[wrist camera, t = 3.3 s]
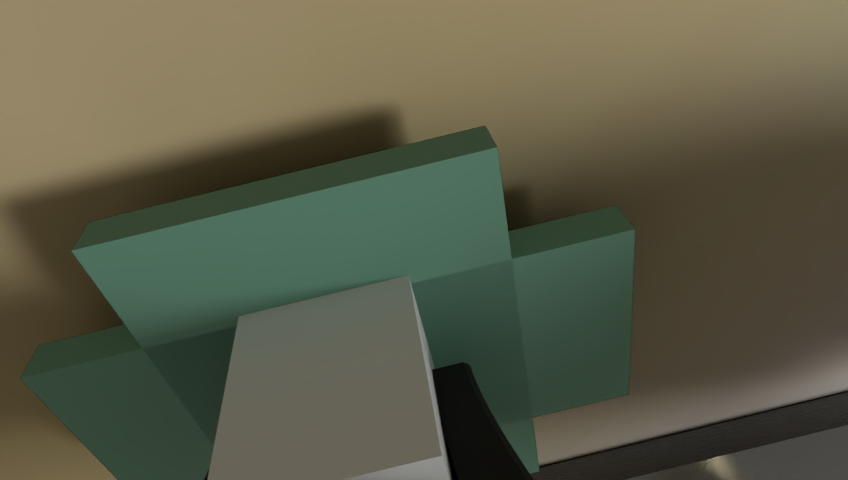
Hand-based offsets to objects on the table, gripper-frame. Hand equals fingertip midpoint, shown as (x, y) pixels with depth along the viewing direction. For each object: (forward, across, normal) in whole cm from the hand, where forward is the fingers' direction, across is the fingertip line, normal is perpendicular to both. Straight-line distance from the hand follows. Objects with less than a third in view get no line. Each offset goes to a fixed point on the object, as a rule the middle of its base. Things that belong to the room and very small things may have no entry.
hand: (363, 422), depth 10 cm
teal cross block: (+2, 0, 0) cm, 2 cm away
